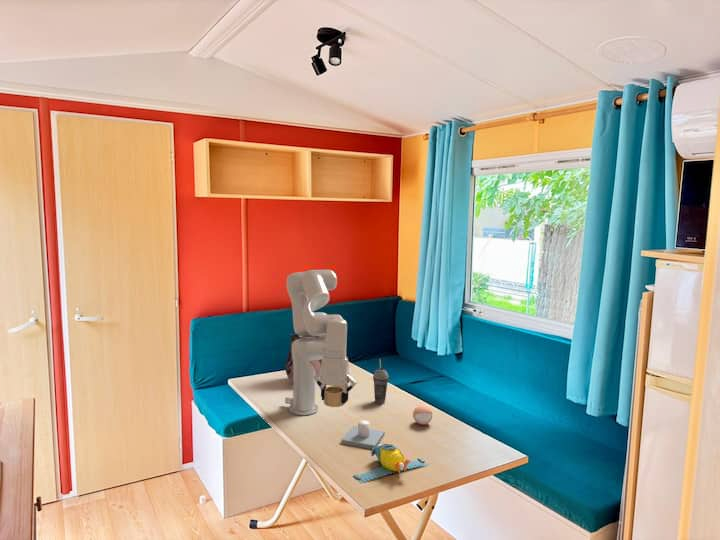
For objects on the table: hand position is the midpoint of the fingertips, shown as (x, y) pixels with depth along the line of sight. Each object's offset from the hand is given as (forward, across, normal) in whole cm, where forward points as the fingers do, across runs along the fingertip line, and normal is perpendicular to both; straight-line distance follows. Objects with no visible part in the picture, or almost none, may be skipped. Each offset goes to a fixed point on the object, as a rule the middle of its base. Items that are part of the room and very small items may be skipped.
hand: (334, 400), depth 181 cm
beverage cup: (+18, +2, +50) cm, 53 cm away
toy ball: (+18, +25, +34) cm, 46 cm away
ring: (+1, 0, 0) cm, 1 cm away
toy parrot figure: (+19, +24, -6) cm, 31 cm away
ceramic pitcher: (+18, -40, +60) cm, 74 cm away
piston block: (+18, +8, +11) cm, 22 cm away
